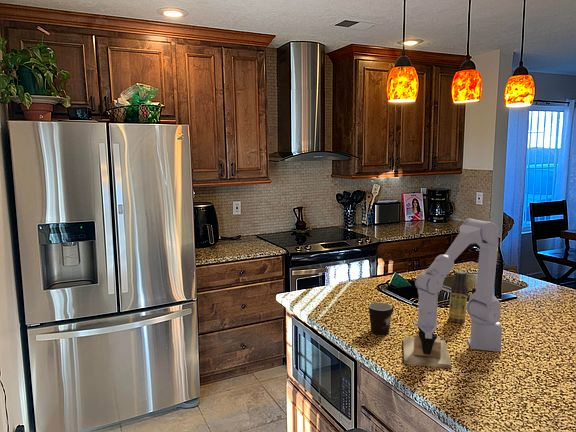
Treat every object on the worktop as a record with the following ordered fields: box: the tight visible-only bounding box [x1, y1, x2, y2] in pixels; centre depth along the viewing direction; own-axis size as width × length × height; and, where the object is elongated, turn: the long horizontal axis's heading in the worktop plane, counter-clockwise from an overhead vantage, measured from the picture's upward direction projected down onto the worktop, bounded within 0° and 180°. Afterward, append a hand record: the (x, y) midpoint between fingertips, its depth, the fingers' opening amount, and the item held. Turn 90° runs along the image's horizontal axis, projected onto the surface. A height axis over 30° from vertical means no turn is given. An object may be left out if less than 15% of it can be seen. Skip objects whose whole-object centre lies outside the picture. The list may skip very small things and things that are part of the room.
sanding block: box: [413, 334, 442, 359], centre depth 138 cm, size 8×4×6 cm, turn 76°
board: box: [402, 336, 452, 369], centre depth 142 cm, size 14×18×1 cm
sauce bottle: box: [448, 270, 468, 324], centre depth 168 cm, size 6×6×20 cm
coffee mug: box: [368, 301, 395, 337], centre depth 159 cm, size 12×9×10 cm
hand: (426, 350), depth 138 cm, fingers closed on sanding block, 4 cm apart
